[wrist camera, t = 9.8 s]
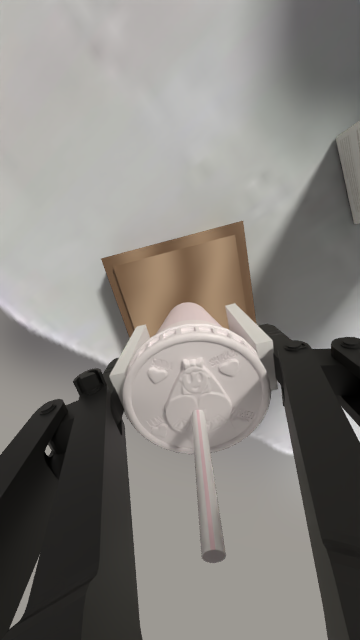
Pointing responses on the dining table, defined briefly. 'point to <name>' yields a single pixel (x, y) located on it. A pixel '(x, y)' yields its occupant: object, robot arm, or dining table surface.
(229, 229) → the walnut tray
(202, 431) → the smoothie
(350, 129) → the supplement box
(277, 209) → the dining table surface
